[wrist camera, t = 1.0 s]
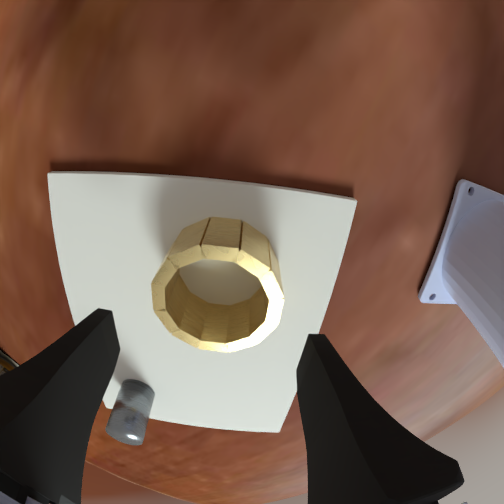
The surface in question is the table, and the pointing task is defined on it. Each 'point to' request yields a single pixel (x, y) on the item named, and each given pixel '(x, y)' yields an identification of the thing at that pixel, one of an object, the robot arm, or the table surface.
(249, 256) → the ring
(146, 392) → the piston
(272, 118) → the table surface
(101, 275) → the mat
